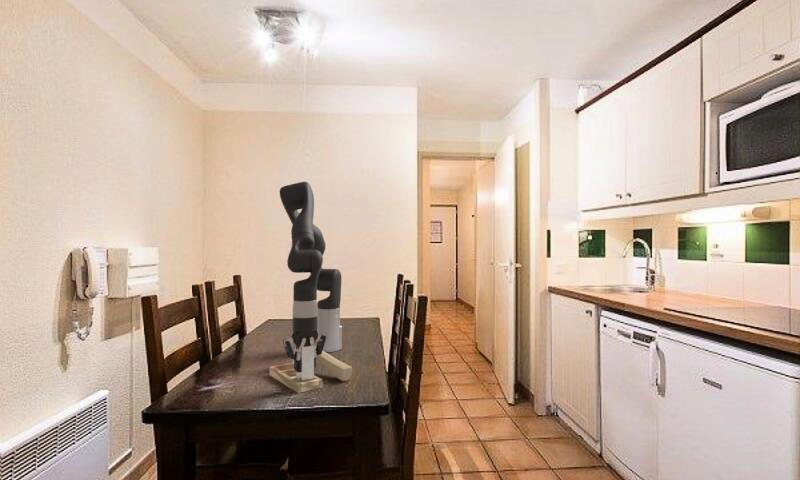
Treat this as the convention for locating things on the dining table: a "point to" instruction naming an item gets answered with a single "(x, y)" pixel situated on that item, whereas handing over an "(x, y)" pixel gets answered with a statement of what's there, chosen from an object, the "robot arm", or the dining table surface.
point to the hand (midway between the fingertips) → (305, 370)
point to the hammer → (331, 365)
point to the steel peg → (306, 364)
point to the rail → (294, 378)
